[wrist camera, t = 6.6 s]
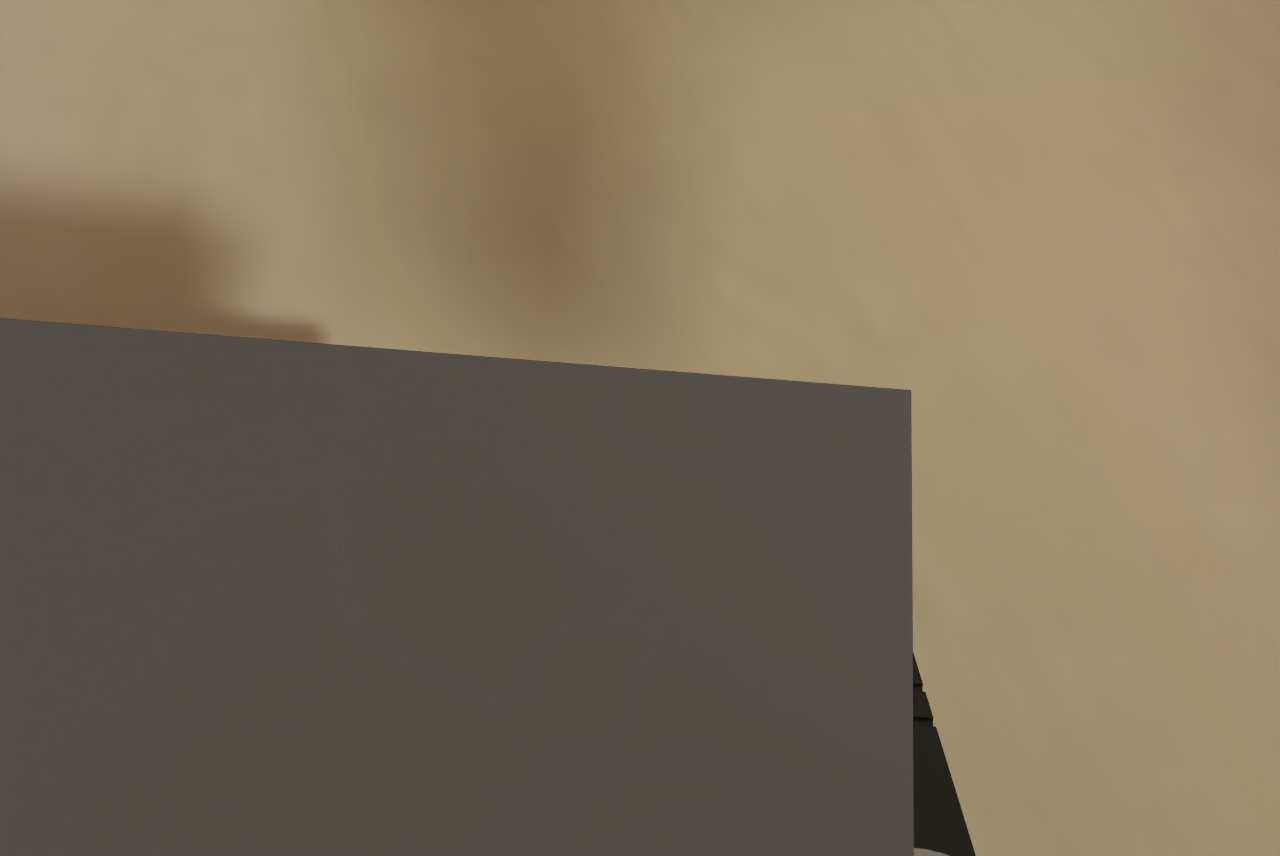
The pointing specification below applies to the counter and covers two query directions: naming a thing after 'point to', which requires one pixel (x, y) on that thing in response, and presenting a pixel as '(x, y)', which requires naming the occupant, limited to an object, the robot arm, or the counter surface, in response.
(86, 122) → the counter surface
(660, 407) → the tall grey-topped block
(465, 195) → the counter surface
